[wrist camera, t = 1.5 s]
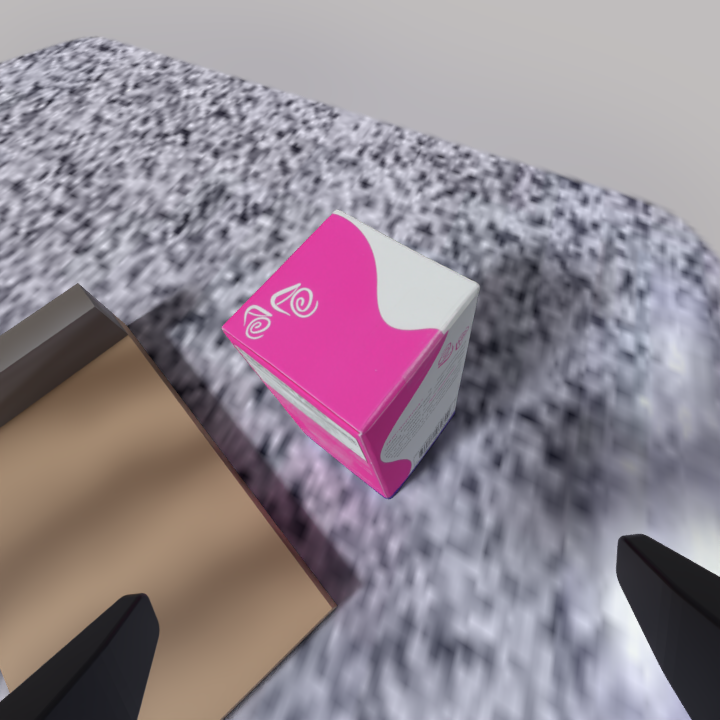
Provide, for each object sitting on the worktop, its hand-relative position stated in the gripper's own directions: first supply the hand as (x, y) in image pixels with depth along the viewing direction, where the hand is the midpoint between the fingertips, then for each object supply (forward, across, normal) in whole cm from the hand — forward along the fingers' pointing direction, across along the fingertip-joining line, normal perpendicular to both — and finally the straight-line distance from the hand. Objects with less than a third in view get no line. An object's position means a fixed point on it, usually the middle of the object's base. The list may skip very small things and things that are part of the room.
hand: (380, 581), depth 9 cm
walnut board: (+12, +14, +7) cm, 19 cm away
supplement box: (+14, 0, +4) cm, 15 cm away
